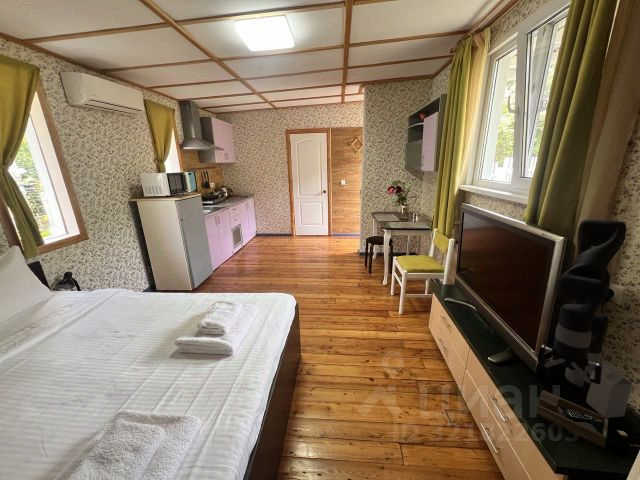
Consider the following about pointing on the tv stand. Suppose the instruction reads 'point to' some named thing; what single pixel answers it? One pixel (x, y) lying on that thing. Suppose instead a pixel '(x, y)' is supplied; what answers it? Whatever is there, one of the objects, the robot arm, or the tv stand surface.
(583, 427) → the wooden tray
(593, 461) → the tv stand surface
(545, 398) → the walnut block
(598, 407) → the milk carton
